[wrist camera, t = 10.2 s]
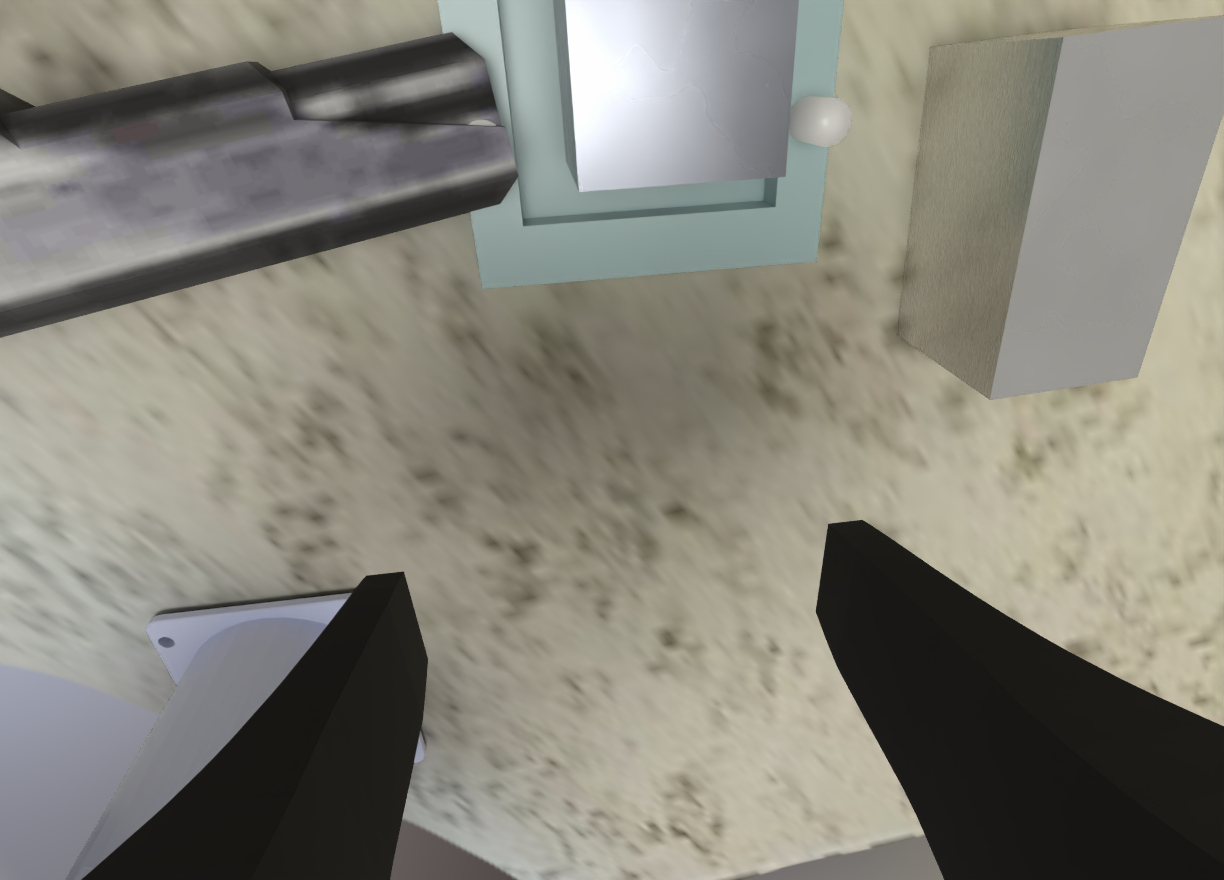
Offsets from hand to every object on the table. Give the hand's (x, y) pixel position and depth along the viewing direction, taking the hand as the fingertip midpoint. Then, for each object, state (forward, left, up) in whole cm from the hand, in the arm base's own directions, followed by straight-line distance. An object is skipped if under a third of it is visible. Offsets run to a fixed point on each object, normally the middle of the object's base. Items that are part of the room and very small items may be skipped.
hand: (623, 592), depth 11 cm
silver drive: (+4, -12, -11) cm, 17 cm away
